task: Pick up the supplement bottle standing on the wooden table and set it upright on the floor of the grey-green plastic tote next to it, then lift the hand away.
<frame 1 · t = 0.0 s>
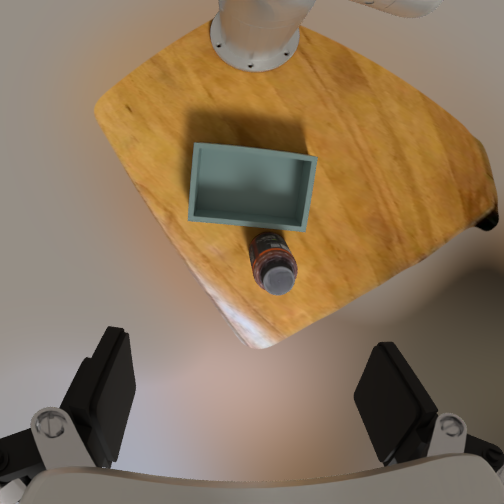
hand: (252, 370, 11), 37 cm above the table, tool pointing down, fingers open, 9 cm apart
supplement bottle: (267, 248, 49), on the table
tote: (249, 182, 45), on the table
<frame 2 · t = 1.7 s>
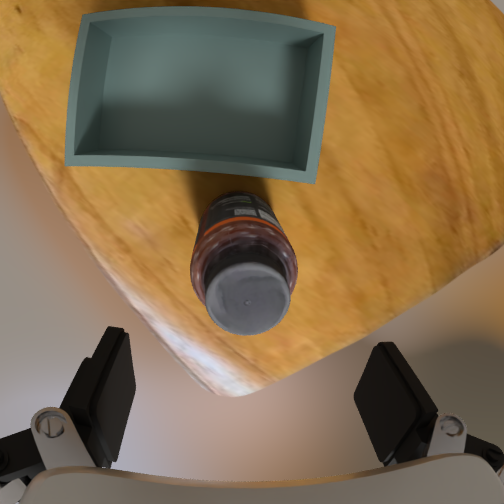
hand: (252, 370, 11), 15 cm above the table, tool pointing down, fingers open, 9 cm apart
supplement bottle: (238, 225, 25), on the table
tote: (199, 93, 20), on the table
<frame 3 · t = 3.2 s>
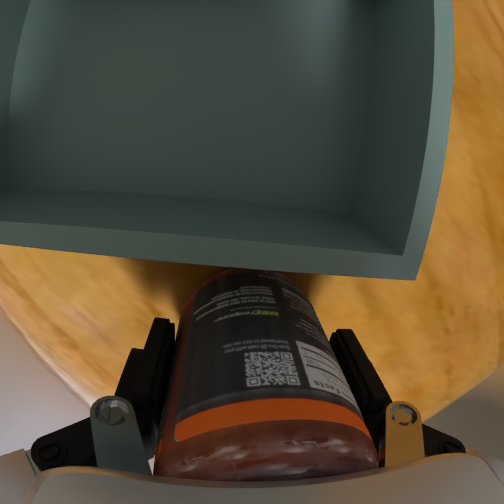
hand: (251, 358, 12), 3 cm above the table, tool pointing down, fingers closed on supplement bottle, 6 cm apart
supplement bottle: (247, 318, 14), on the table, touching gripper
tote: (172, 77, 10), on the table
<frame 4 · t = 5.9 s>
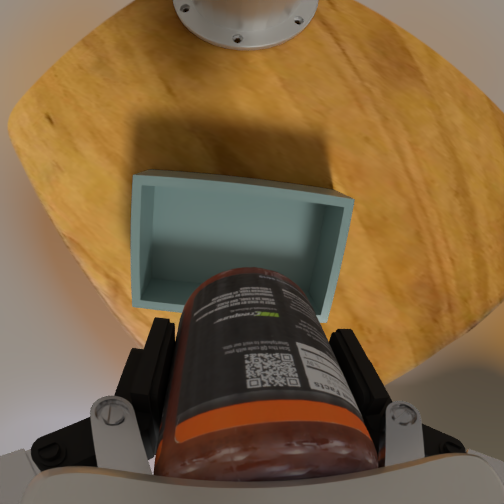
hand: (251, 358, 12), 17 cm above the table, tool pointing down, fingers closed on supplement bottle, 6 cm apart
supplement bottle: (247, 319, 14), point 14 cm above the table, touching gripper
tote: (236, 236, 28), on the table
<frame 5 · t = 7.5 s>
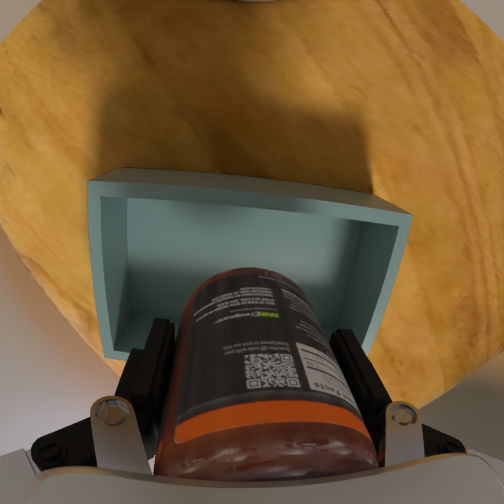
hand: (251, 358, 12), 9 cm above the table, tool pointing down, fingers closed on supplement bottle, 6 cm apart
supplement bottle: (247, 319, 14), point 7 cm above the table, touching gripper
tote: (242, 257, 20), on the table
when the fingers open (5 cm above the table, at t = 8.8 s): supplement bottle drops 2 cm, resting on tote.
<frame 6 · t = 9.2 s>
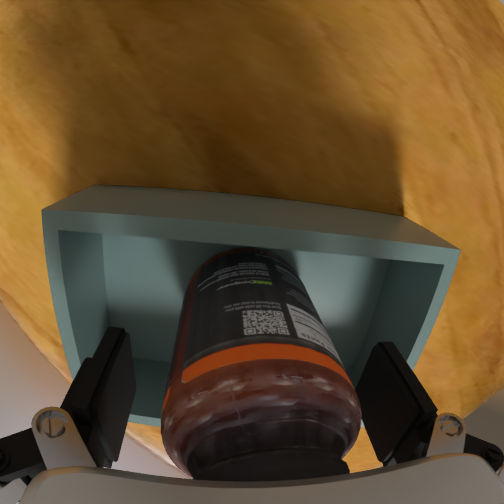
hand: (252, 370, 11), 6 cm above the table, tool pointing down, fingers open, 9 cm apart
supplement bottle: (245, 297, 16), point 1 cm above the table, touching tote
tote: (245, 295, 16), on the table
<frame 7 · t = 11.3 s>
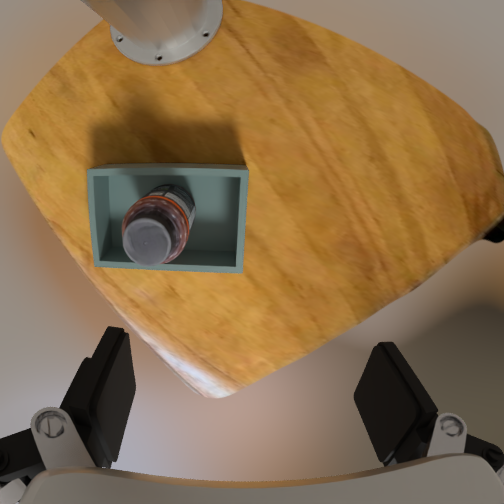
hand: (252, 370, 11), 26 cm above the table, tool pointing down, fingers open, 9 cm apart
supplement bottle: (170, 209, 34), resting on tote
tote: (171, 209, 34), on the table
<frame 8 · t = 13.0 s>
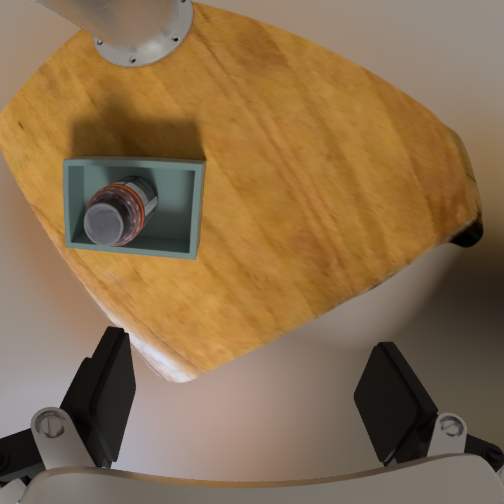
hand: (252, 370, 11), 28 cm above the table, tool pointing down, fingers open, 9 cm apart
supplement bottle: (136, 198, 36), resting on tote
tote: (138, 198, 36), on the table
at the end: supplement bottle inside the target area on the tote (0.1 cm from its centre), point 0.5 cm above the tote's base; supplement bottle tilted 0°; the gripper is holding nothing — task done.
